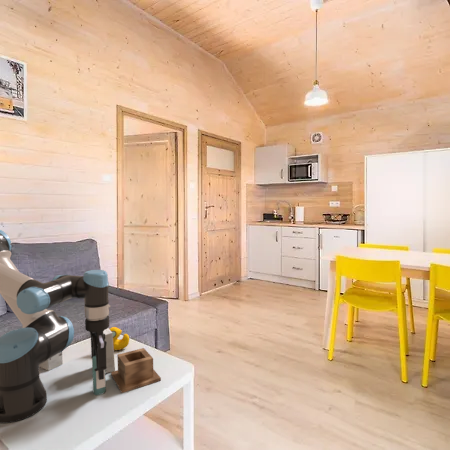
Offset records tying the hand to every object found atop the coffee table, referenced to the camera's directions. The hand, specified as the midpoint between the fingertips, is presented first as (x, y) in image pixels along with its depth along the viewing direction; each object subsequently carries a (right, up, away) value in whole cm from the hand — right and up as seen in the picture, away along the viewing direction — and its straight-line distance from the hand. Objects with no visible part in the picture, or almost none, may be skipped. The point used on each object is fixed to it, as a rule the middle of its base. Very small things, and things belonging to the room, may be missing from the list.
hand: (99, 384), depth 111 cm
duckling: (-5, -1, +32) cm, 32 cm away
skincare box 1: (-26, -2, +18) cm, 32 cm away
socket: (+10, -2, +9) cm, 13 cm away
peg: (0, -3, 0) cm, 3 cm away
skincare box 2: (-4, -2, +15) cm, 16 cm away
